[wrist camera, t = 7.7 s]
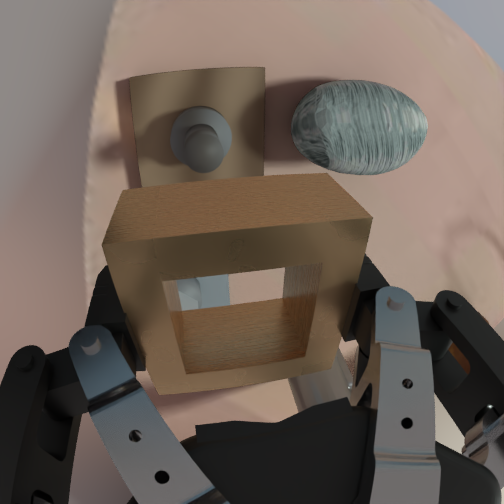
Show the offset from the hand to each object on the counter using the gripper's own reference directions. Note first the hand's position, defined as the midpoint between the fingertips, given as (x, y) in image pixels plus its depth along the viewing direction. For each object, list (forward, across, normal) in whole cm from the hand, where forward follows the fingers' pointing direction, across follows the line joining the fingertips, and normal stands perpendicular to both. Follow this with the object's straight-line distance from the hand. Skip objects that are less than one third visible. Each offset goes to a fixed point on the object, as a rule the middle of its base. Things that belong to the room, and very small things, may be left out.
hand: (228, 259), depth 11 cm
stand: (+21, 0, 0) cm, 21 cm away
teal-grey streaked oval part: (+21, -15, -1) cm, 26 cm away
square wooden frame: (0, 0, 0) cm, 0 cm away
